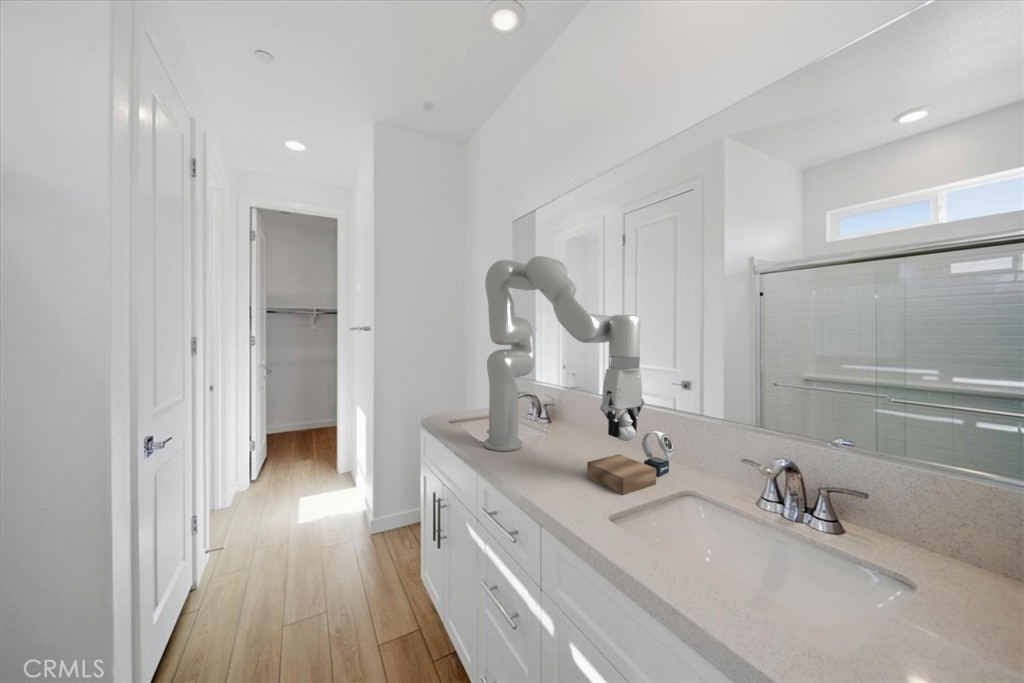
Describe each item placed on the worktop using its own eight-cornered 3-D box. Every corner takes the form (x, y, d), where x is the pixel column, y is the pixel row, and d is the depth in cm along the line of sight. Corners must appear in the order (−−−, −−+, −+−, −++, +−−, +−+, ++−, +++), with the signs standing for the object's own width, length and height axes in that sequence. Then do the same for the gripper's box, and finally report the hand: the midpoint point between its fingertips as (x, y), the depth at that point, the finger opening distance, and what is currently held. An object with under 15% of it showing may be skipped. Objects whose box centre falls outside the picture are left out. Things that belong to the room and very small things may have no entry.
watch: (666, 479, 94) (667, 437, 94) (637, 470, 100) (638, 430, 100) (676, 474, 98) (677, 433, 98) (647, 465, 104) (649, 427, 104)
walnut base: (586, 476, 95) (587, 461, 95) (618, 468, 102) (619, 454, 101) (623, 495, 85) (623, 478, 85) (656, 484, 91) (656, 468, 91)
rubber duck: (630, 444, 89) (631, 412, 88) (605, 439, 93) (606, 408, 93) (639, 440, 93) (639, 408, 93) (614, 435, 97) (615, 405, 97)
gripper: (634, 361, 100) (633, 426, 101) (588, 363, 91) (587, 435, 91) (658, 363, 94) (656, 433, 94) (611, 366, 85) (609, 443, 85)
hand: (622, 433), depth 93 cm, fingers closed on rubber duck, 5 cm apart
